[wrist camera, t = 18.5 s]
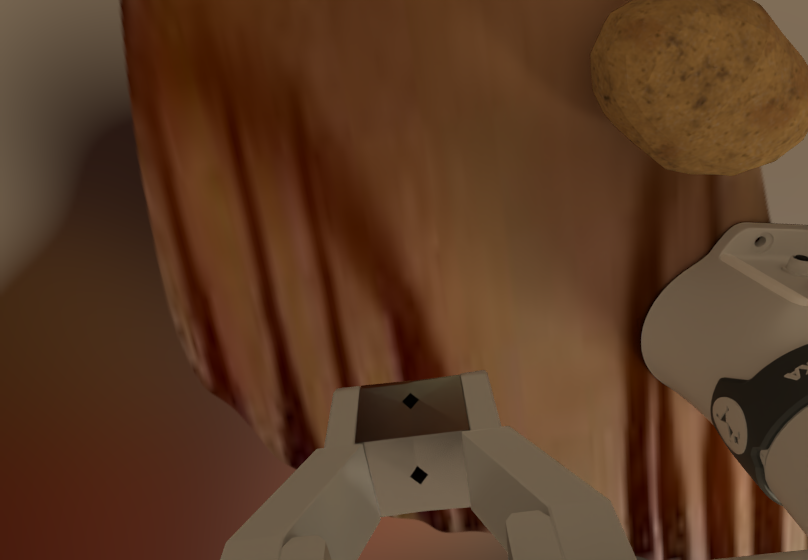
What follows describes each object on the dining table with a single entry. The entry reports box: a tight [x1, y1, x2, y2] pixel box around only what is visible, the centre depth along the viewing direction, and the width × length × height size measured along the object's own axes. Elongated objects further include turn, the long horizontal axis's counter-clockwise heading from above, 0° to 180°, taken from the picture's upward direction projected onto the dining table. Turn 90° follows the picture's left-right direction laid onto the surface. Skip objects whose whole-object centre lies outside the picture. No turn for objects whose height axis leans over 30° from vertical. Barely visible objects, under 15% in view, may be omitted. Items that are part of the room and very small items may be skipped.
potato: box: [590, 0, 808, 176], centre depth 31 cm, size 10×14×8 cm
